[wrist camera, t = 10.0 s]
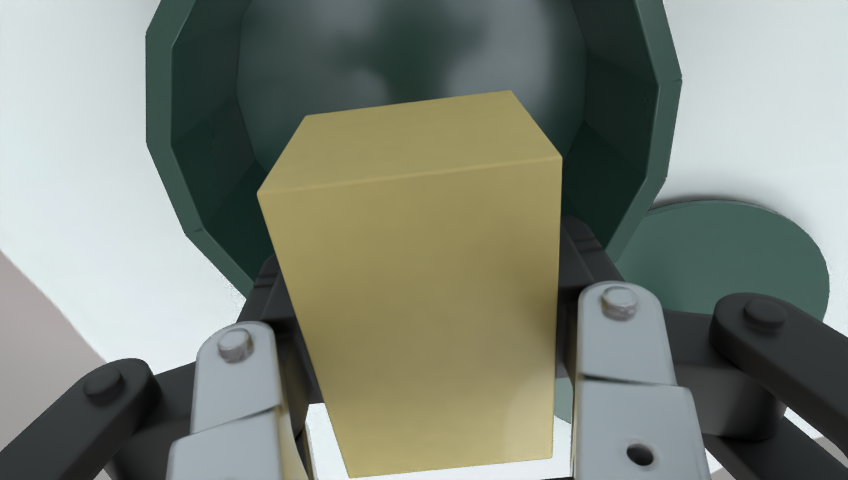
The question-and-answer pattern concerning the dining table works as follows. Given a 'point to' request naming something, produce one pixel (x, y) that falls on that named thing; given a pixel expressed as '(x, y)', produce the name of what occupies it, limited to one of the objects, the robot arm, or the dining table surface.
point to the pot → (403, 96)
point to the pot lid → (718, 262)
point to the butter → (425, 278)
